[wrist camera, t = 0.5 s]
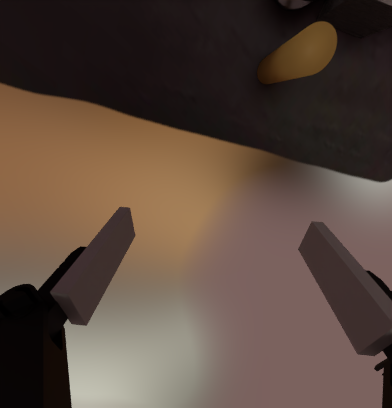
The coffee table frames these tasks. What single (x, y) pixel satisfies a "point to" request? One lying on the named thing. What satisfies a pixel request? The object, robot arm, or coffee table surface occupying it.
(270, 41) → the coffee table surface
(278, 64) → the tapered pin
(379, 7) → the rosette bracket
